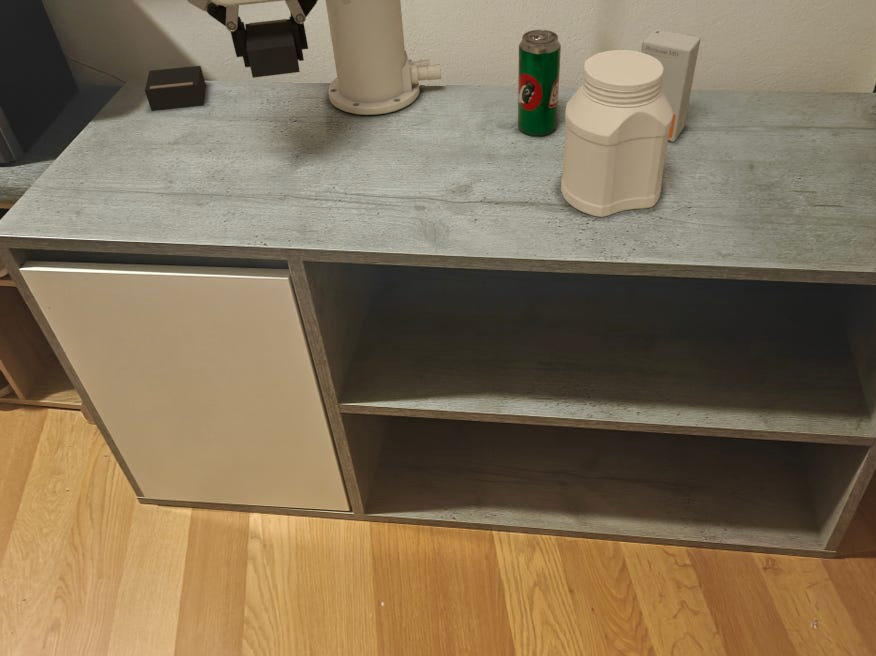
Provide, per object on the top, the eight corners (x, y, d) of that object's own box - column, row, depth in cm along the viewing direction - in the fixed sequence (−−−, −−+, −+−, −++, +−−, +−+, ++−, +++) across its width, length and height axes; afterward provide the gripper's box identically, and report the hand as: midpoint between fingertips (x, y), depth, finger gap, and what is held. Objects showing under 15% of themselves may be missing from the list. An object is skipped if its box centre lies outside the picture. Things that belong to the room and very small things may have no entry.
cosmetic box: (629, 133, 103) (640, 41, 95) (640, 118, 106) (652, 27, 98) (675, 143, 101) (690, 50, 93) (685, 128, 104) (701, 36, 95)
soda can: (557, 137, 103) (562, 45, 94) (517, 138, 103) (519, 46, 95) (555, 118, 106) (560, 27, 98) (517, 118, 107) (518, 28, 98)
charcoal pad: (206, 85, 115) (200, 64, 113) (203, 105, 111) (197, 84, 109) (155, 90, 114) (149, 69, 112) (151, 110, 110) (144, 89, 108)
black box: (295, 45, 92) (290, 17, 89) (299, 72, 87) (294, 44, 85) (251, 50, 91) (244, 22, 89) (252, 78, 86) (246, 49, 84)
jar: (638, 161, 98) (654, 40, 88) (673, 203, 92) (695, 78, 81) (549, 177, 96) (555, 55, 86) (579, 222, 90) (589, 96, 79)
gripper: (138, -109, 72) (194, 83, 85) (328, -126, 74) (355, 64, 87) (144, -131, 77) (196, 53, 90) (322, -146, 80) (347, 36, 92)
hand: (273, 57), depth 89 cm, fingers closed on black box, 5 cm apart
